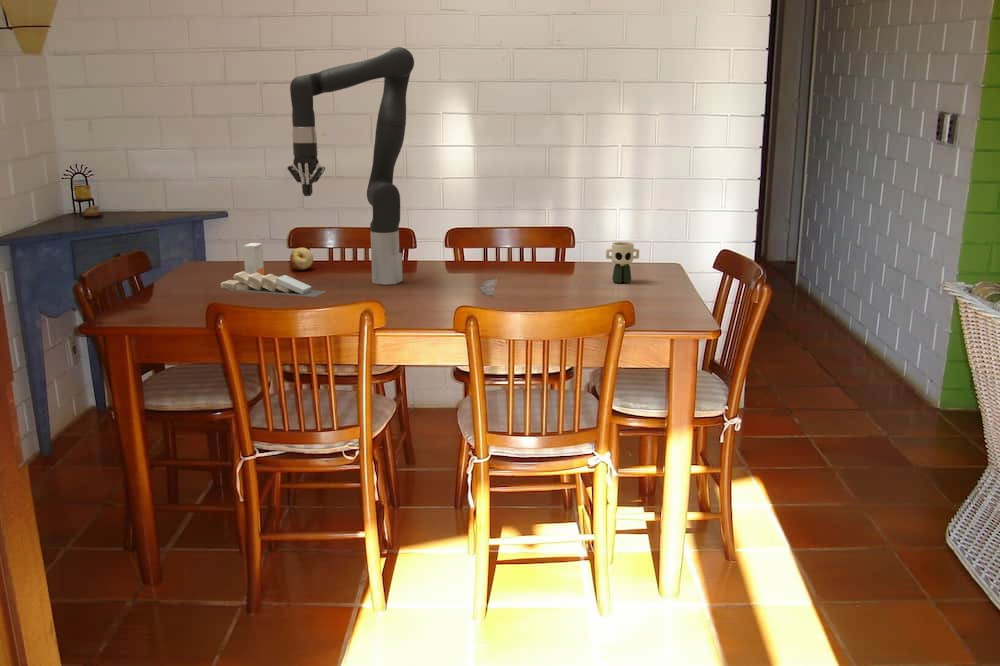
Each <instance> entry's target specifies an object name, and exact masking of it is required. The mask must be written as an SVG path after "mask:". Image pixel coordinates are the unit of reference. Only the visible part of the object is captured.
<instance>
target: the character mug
mask: <svg viewBox="0 0 1000 666" xmlns="http://www.w3.org/2000/svg"><path fill="white" fill-rule="evenodd" d="M634 244H635V243H634V242H629V241H615V242H612V243H611V248H607V249H606V250H605V258H606V259H607V260H609V259H610V260H611V261H612V263H613V264H614V267H613V272H612V278H611V280H612V281H613V282H615V283H622V282H623V283H630V282H631V281H632V273H631V272H632V271H631V266H630V264H632V263H633V261H634V260H638V259H640V249H639V248H634ZM610 252H611V255H610ZM635 252H636V253H635ZM634 253H635V254H636V255H634Z"/></svg>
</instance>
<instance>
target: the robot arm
mask: <svg viewBox="0 0 1000 666" xmlns="http://www.w3.org/2000/svg"><path fill="white" fill-rule="evenodd" d="M414 66H415V59H414V56H413V54H412V52H410V50H408V49H406V48H405V47H401V46H398V47H393V48H391V49H390V50H388V51H386V52H384V53H381V54H380V55H378V56H375V57H372V58H369V59H365V60H361V61H357V62H351V63H348V64H347V63H346V64H343V65H339V66H337V65H336V66H334V67H330V68H326V69H323V70H321V71H318V72H314V73H309V74H304V75H300V76H299V75H298V76H296V77H294V78H293V79H292V80H291V82H290V83H289V84H290V85H289V92H290V100H291V101H290V102H291V107H292V111H291V112H292V113H291V120H292V121H291V123H292V131H291V132H292V149H293V152H292V153H293V154H292V155H293V157H294V158H293V161H292V162H293V163H292V164H291V165H289V166H287V170H288V172H289V174H290V175H291V176H292V177H293V178H294V179H295V181H296V182H297V183H300V184H301V190H302V194H303V196H304V197H312V195H313V184H314V183H317V182H319V180H320V178H321V177H322V175H323V173H324V172H325V170H326V167H325V166H322V165H321V164H320V161H319V159H318V137H317V129H316V118H315V115H316V114H315V111H314V97H316V96H318V95H322V94H324V93H325V94H326V93H333V92H337V91H342V90H345V89H349V88H351V87H354V86H357V85H360V84H363V83H365V82H370V81H373V80H379V79H383V78H384V80H383V90H382V91H383V93H382V98H381V101H380V104H379V108H378V109H379V110H378V114H377V120H376V127H375V136H374V138H375V139H374V147H373V156H372V158H373V159H372V167H371V171H370V177H369V180H368V184H367V189H366V199H367V201H368V203H369V204H370V205H371V206H372V220H371V222H370V224H369V225H370V226H369V227H370V251H371V252H370V253H371V254H370V255H371V256H370V257H371V280H372V281H371V282H372V283H373V284H376V285H377V284H378V285H385V286H387V285H397V284H399V283H401V282H403V279H404V278H403V254H402V253H401V252H400V229H399V228H400V227H399V226H400V222H401V196H400V195H401V194H400V191H399V189H398V188H397V186H396V185H395V184H393V183H394V171H395V165H396V162H397V160H398V158H399V155H400V153H401V150H402V147H403V145H404V140H405V135H406V124H407V92H408V91H407V90H408V85H409V81H410V78H411V77H410V76H411V73H412V72H413V69H414Z"/></svg>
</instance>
